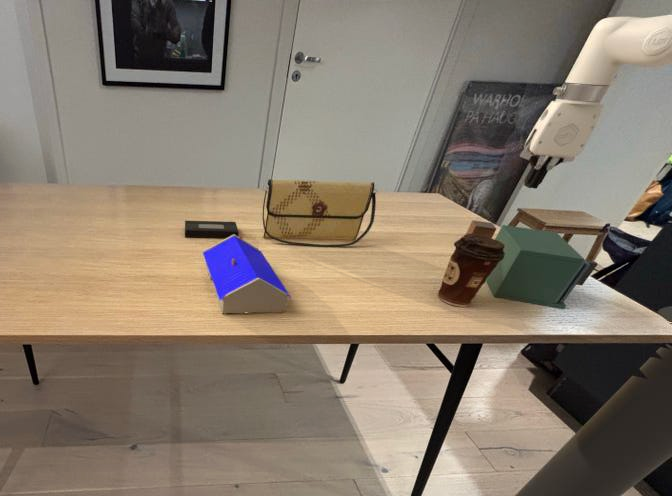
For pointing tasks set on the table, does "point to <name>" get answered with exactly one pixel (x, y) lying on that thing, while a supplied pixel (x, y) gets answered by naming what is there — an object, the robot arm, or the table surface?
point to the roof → (244, 278)
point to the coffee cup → (469, 268)
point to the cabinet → (534, 266)
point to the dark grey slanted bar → (579, 277)
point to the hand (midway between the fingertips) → (530, 186)
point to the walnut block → (481, 228)
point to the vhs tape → (210, 229)
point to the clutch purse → (317, 210)
